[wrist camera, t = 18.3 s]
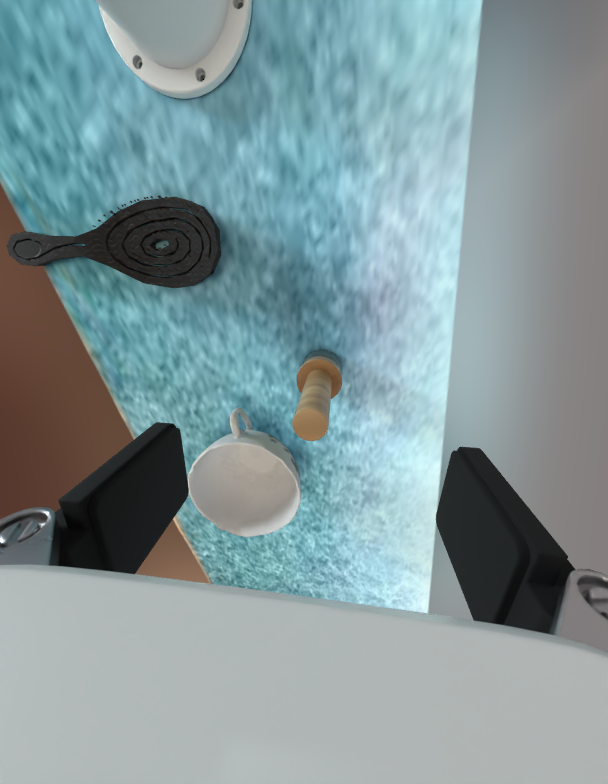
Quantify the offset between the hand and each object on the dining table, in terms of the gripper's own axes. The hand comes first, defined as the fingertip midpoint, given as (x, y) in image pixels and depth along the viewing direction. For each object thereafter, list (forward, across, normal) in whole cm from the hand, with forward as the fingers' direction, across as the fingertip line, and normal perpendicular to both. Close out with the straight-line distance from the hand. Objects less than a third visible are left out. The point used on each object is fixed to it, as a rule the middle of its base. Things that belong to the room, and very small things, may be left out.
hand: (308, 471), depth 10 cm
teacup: (+24, +8, +15) cm, 30 cm away
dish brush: (+24, +1, +4) cm, 25 cm away
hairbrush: (+24, +23, -8) cm, 35 cm away
